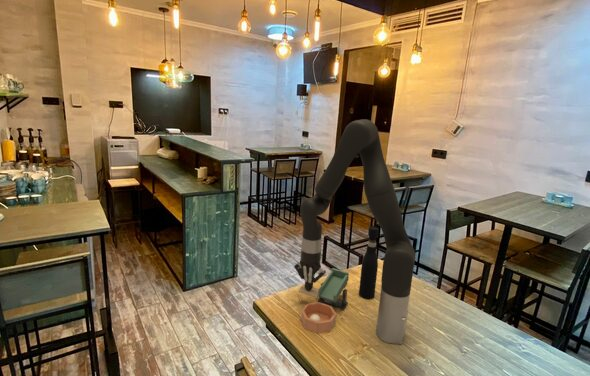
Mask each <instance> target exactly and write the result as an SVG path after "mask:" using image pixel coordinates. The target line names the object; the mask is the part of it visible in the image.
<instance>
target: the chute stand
mask: <svg viewBox="0 0 590 376" xmlns="http://www.w3.org/2000/svg"><path fill="white" fill-rule="evenodd" d="M322 284H323V282H322V283H320V286H321V285H322ZM341 294H342V296H341V298H338V299H337V301H336V303H335V302H332V301H329V300H326V299H323V298H320V297H318V298H317V302H320V303H323V304H326V305H329V306H331V307H332V308H334V309H338V310H341V311H345V309H346V308H347V307H348V304H349V301H348V300H347V299H348V298H347V297H348V289H346V288H344V289H343V291H342V292H341Z"/></svg>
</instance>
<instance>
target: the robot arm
mask: <svg viewBox="0 0 590 376" xmlns="http://www.w3.org/2000/svg"><path fill="white" fill-rule="evenodd" d="M358 154H359V157H360V159H361V163H362V168H363V169H362V170H363V189H364V196H365V198H366V201H367V203H368V207H369V210H370V212H371V214H372V216H373V217H374V219H375V221H376V222H377V224H378V225H379V227H380V229H381V231H382V234H383V238H384V241H385V248H386V251H385V253H384V257H383V262H382V271H381V280H380V281H381V285H380V287H381V288H380V296H379V304H378V311H377V312H378V313H377V318H376V320H377V321H376V326H375V327H376V329H375V333H376V336H377V338H379V339H380V340H381V341H382V342H385V343H386V344H387V343H388V344H396V345H397V344H399V345H403V342H404V338H405V336H406V330H407V323H408V316H409V304H410V303H409V302H410V296H411V290H412V282H413V276H414V269H415V261H416V251H415V249H414V247H413V244H412V243H411V240H410V238H409V235H408V233H407V230H406V228H405V226H404V222H403V221H404V220H403V217H402V213H401V208H400V203H399V201H398V197H397V194H396V191H395V190H396V189H395V187H394V183H393V182H392V178H391V176H390V173H389V169H388V166H387V164H386V161H385V158H384V154H383V149H382V144H381V138H380V134H379V130H378V127H377V126H376V124H375V123H374V122H373V121H372V120H370V119H367V118H365V119H364V118H363V119H356V120H354V121H351V122H350V123H348V124H347V125H346V127H345V128H344V131H343V133H342V134H341V137H340V140H339V143H338V145H337V148H336V149H335V151H334V153H333V156H332V158H331V160H330V161H329V164H328V166H327V167H326V168H325V170H324V172H323V173H322V175H321V176H320V178H319V180H318V182H317V183H316V184H315V187H314V191H315V194H314V196H313V197H309V198H306V199H304V200H303V201H302V202H301V205H300V209H299V210H300V212H299V213H300V216H301V223H302V238H301V244H300V247H301V248H300V261H299V262H296V264H294V268H295V270H296V272H297V274H298V276H299V277H300V279H301V280H304V284H305V288H306V290H307V291H310V290H311V289H312V288H313V287H314V284H315V283H316V282H318V281H319V280H320V279H321V278H322V277H323V276H324V275H325V274H326V273H327V272H326V270H323V268H322V265H321V260H322V259H321V258H322V257H321V256H322V255H321V254H322V235H323V226H322V225H323V224H322V223H321V222H319V221H318V220H317V217H318V216H320V215H322V214H324V213H325V212H326V211H327V210H328V209H329V206H330V204H331V202H332V198H333V196H334V194H336V193H337V190H338V188H340V185H341V184H342V182H343V180H344V178H345V176H346V173H347V172H348V171H347V170H348V168H349V166H350V164H351V163H352V161H353V160H354V159H355V158H356V157H357V156H358ZM316 273H317V274H318V275H317V276H316ZM315 276H316V277H315Z"/></svg>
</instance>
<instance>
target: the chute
mask: <svg viewBox="0 0 590 376" xmlns="http://www.w3.org/2000/svg"><path fill="white" fill-rule="evenodd" d="M349 274H350V272H349V271H348V272H347V271H345V270H341V269H338V268H333V267H332V268H331V271H330V272H329V274H328V275H327V277H326V278H325V280H323V282H322V283H323V284H322V283H321V284H322V285H321V284H320V287H319V288H316V287H314V286H313V288H312V289H311V290H310V291H307V290H306V288H305V283H303V284H302V285H301V287H300V288H299V289H298V293H300V294H303V295H306V296H307V297H308V296H309V297H311V298H315V299H319V297H320V298H323V299H326V300H329V301H332V302H335V303H336V301H337V299H339V297H340V296H341V294H342V293H343V290H344V289H346V286H347V285H348V282H349Z"/></svg>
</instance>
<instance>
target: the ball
mask: <svg viewBox="0 0 590 376" xmlns="http://www.w3.org/2000/svg"><path fill="white" fill-rule="evenodd" d="M310 319H312V320H315V321H318V322H320V321H321V319H320V317H319V316H318V315H317V314H313V315H311V316H310Z"/></svg>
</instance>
